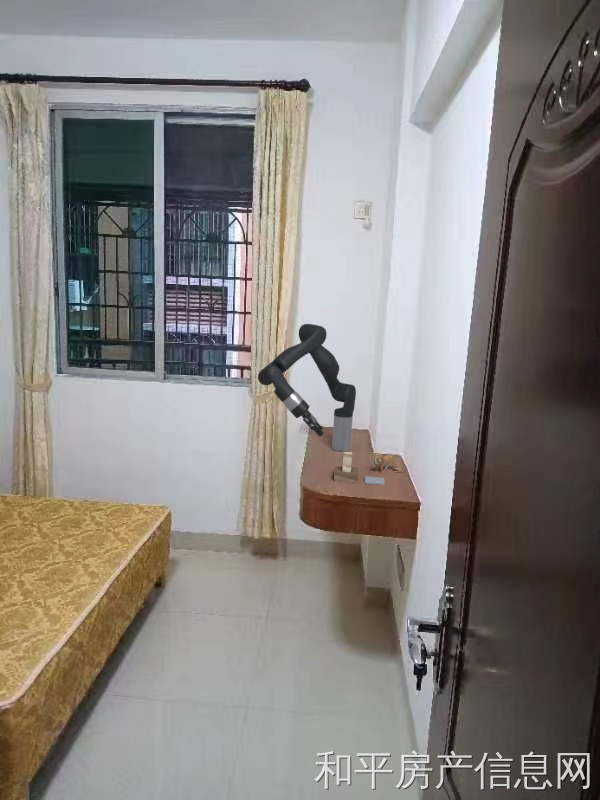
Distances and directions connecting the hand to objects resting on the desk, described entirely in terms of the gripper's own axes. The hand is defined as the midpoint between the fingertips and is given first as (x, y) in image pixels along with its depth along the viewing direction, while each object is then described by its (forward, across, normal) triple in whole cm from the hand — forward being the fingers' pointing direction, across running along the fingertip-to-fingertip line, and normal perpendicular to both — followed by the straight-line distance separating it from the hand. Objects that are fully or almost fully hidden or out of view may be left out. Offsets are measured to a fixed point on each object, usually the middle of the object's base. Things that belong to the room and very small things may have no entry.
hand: (321, 432), depth 249 cm
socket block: (+22, 0, +5) cm, 23 cm away
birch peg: (+22, 0, +5) cm, 23 cm away
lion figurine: (+35, +13, -7) cm, 38 cm away
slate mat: (+30, -2, -3) cm, 31 cm away
